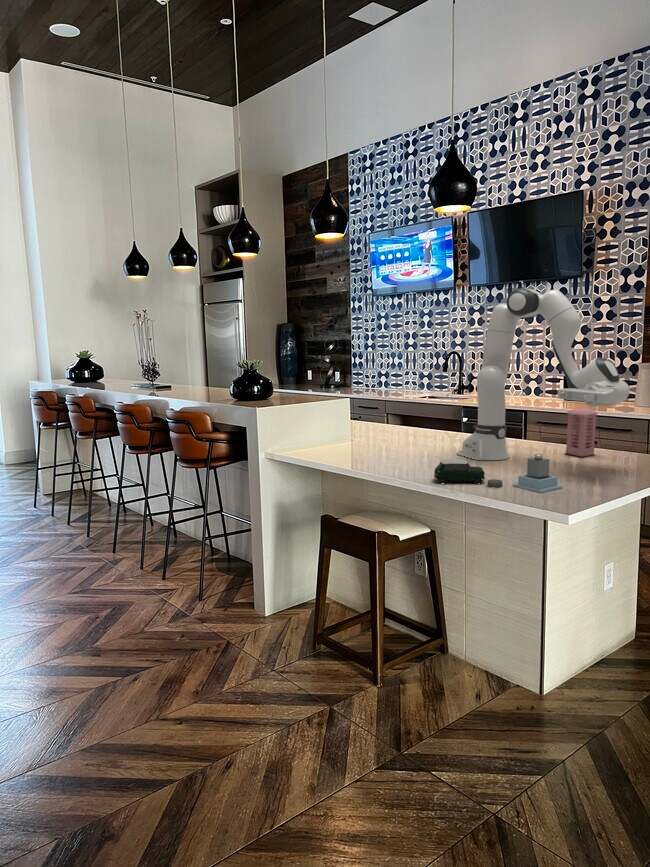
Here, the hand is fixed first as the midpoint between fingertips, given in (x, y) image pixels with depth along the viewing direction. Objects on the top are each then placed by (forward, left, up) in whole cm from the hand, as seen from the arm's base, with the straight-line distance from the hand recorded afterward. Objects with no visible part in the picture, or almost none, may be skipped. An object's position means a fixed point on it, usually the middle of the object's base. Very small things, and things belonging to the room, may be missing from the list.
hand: (571, 396), depth 230 cm
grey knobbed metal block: (+2, -19, -29) cm, 34 cm away
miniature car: (-21, -34, -30) cm, 49 cm away
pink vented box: (-24, +39, -30) cm, 55 cm away
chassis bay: (+2, -19, -29) cm, 35 cm away
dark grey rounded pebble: (-8, -29, -30) cm, 42 cm away
